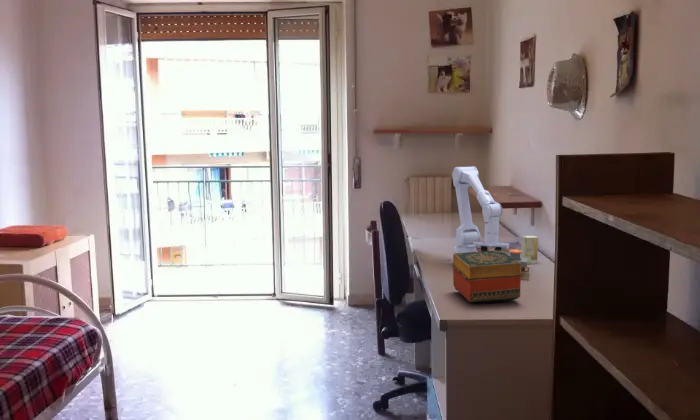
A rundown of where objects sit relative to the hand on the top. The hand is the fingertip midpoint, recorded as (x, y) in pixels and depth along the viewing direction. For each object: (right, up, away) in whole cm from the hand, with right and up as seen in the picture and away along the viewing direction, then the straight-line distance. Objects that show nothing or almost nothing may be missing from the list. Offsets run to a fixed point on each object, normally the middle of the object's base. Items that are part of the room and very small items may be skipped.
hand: (490, 264), depth 254 cm
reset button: (+12, +1, +7) cm, 14 cm away
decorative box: (-10, -9, -34) cm, 37 cm away
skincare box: (+22, -1, +22) cm, 32 cm away
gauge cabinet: (+12, -3, +7) cm, 14 cm away
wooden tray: (+5, -4, -1) cm, 7 cm away
